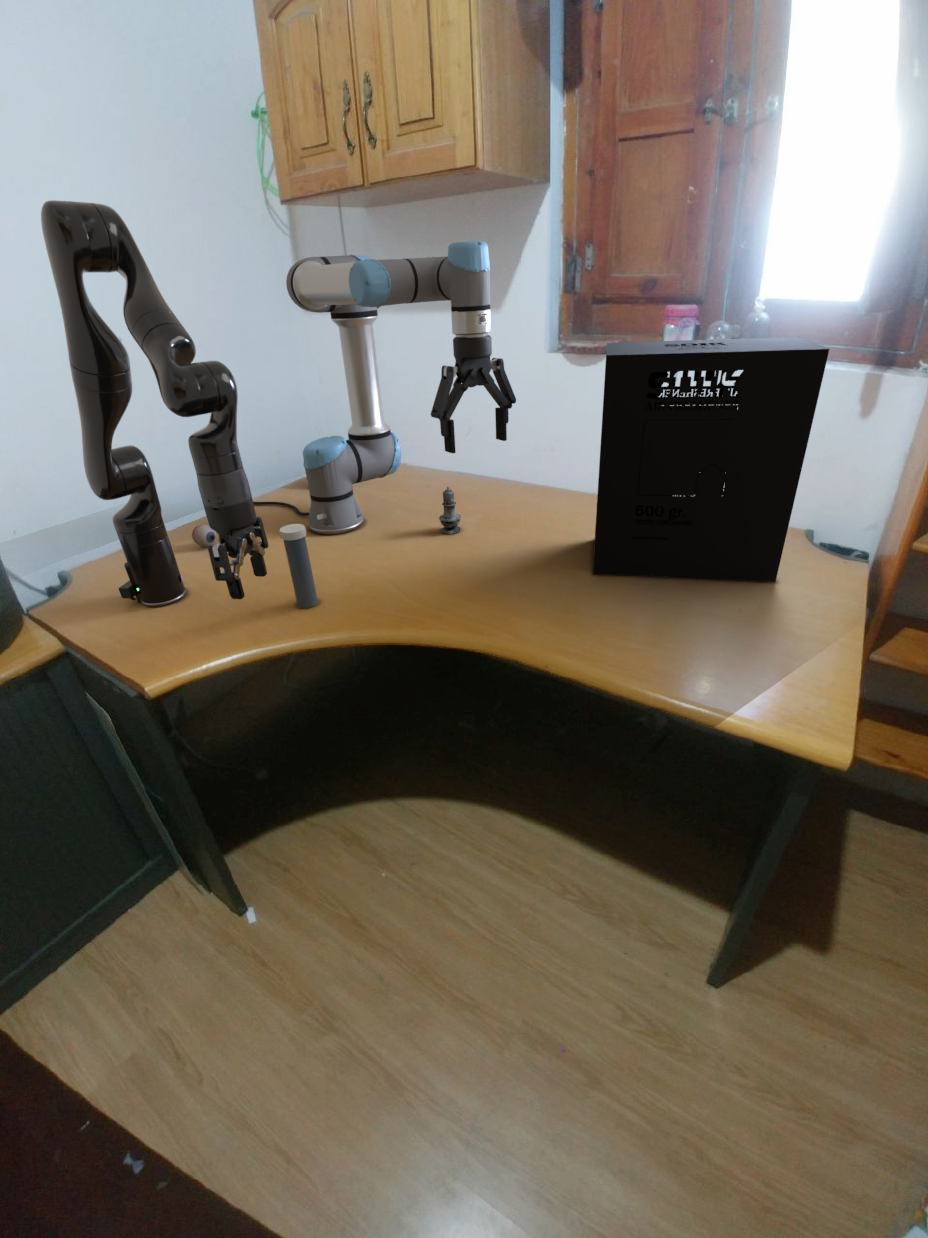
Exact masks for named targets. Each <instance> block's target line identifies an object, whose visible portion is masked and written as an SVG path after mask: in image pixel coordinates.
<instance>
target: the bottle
mask: <svg viewBox="0 0 928 1238" xmlns="http://www.w3.org/2000/svg"><path fill="white" fill-rule="evenodd" d="M306 538H307V537H306V536H305V537H303V538H301V539H298V540H291V541H288V540H283V539H282V540H283V545H284V549H285V554H286V558H287V559H286V560H287V563H288V568H289V572H290V577H291V582H292V587H293V592H294V596H295V600H296V605H297V607H298V608H299V609H310V608H311V609H312V608H314V607H316V606H317V605H318V604H319V600H318V594H317V589H316V583H315V578H314V574H313V569H312V563H311V559H310V554H309V549H308V544H307V539H306Z"/></svg>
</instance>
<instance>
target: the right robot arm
mask: <svg viewBox="0 0 928 1238" xmlns="http://www.w3.org/2000/svg"><path fill="white" fill-rule="evenodd" d="M490 263H491V262H490V252H489V245H488V244H487V242H485V241H484V240H466V241H455V242H451V243H450V244H449V245H448V247H447V256H431V257H430V256H427V257H413V258H411V257H410V258H391V259H390V258H386V259H374V258H370V257H369V256H367V255H358V254H349V255H328V256H326V255H325V256H310V257H305V258H302V259H300V260H298V261H296V262H295V263H293V265H291V267H290V268H289V269H288V272H287V275H286V281H285V282H286V283H285V284H286V285H285V286H286V290H287V293H288V296H289V297H290V299H291V300H292V303H294V304H295V305H296V306H298V307H299V308H300V309H302V310H304V311H306V312H310V313H318V314H319V313H320V314H321V313H330V320H331V321H332V322H333V323H334V324H335V325H336V326H337V327H338V332H339V333H338V334H339V339H340V347H341V355H342V361H343V369H344V375H345V382H346V383H345V384H346V389H347V396H348V404H349V410H350V418H351V425H350V426H349V428H348V430H347V436H348V439H345V437H343V436H341V435H332V436H324V437H321V438H318V439H315V440H312V441H311V442H309V443H308V444H306V445H305V446H304V448H303V450H302V457H303V459H302V460H303V467H304V471H305V476H306V481H307V486H308V492H309V498H310V507H309V512H303V511H300V510H299V508H297V506H295V505H293V504H291V503H288V502H283V501H282V502H281V501H253V504H254V506H263V505H265V506H266V505H268V506H269V505H273V506H281V507H287V508H290V509H292V510H294V512H295V513H296V514H297V515H299V516H304V517H306V516H307V517H308V528H309V529H308V530H310V531H311V532H312V533H314V534H317V535H323V536H324V535H325V536H327V535H329V536H331V535H339V534H340V535H341V534H345V533H350V532H353V531H355V530H357V529H359V528H361V527H362V526H363V525H364V523H365V519H364V514H363V512H362V510H361V508H360V505H359V504H358V501H357V500H356V498H355V495H354V489H353V485H354V484H355V485H356V484H359V483H363V482H368V481H371V480H375V479H381V478H385V477H387V476H390V475H392V474H394V473H396V472H397V470H398V469H399V467H400V465H401V462H402V446H401V443H400V441H399V437H398V436H397V435H396V434H395V432H394V431H391V426H390V425H388V423H386V422H385V420H384V419H385V418H384V410H383V402H382V393H381V385H380V377H379V368H378V367H379V366H378V358H377V349H376V341H375V331H374V324H375V322H376V320H377V319H378V317H379V314H378V309H379V308H381V307H385V306H394V305H403V304H405V305H406V304H417V303H419V304H420V303H427V302H428V303H429V302H444V301H448V302H449V301H450V311H451V313H450V314H451V315H450V316H451V334H453V335H454V337H453V339H452V350H453V358H454V359H455V363H454V366H452V365H442V366H441V373H440V374H441V375H440V376H441V377H440V381H439V384H438V388H437V390H436V395H435V398H434V401H433V404H432V407H431V411H430V416H431V418H435V419H438V421H439V426H440V435H441V437H443V441H444V442H443V443H444V452H446V453H450V454H456V433H455V420H454V419H451V418H452V416H453V414H454V413H455V410H456V409H457V406H458V404H459V402H460V401H461V399H462V397H463V396H464V393H465V392H466V391H468V389H469V388H474V387H477V386H478V387H482V386H483V387H484V389H485V390H486V391H487V392H488V394H489V396H491V398H492V399H493V401H494V402H495V403H496V405H497V406H498V407H495V408H494V410H495V411H494V413H495V414H494V415H495V439H496V440H499V441H502V442H507V441H508V438H507V435H508V433H507V424H509V410H510V409H512V407H513V404H516V403H517V398H516V394H515V393H514V390H513V388H512V385H511V383H510V380H509V378H508V375H507V373H506V370H505V363H504V362H505V361H504V359H503V358H499V357H493V358H491V356H492V354H493V346H492V344H493V343H492V340H493V339H492V336H491V335H489V333H491V332H492V315H491V314H492V312H491V311H492V309H491V264H490ZM491 370H492V374H493V376H494V378H493V376H492V375H491ZM455 377H456V378H455ZM454 378H455V380H454ZM495 381H496V383H497V384H496V383H495Z"/></svg>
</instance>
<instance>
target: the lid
mask: <svg viewBox="0 0 928 1238" xmlns="http://www.w3.org/2000/svg"><path fill="white" fill-rule="evenodd" d="M279 536H280V539H281V540H288V541H291V540H298V539H301V538H303V537H305V538H306V536H307V528H306V526H305V525H304V524H302V523H291V524H290V523H289V524H285V525H283V526H281V527H280V528H279Z"/></svg>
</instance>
